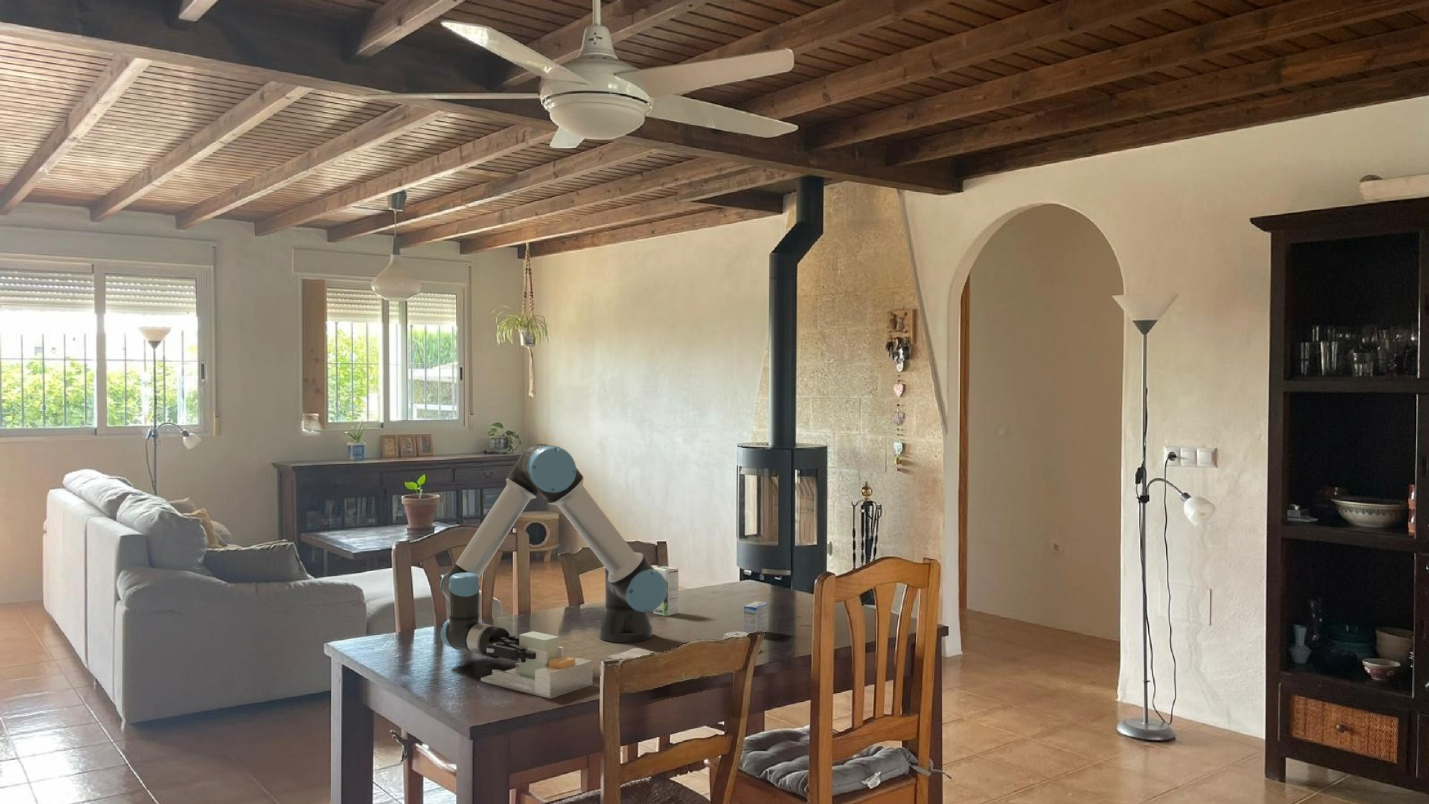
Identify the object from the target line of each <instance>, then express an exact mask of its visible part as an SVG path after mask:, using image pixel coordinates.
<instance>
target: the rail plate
mask: <svg viewBox="0 0 1429 804" xmlns="http://www.w3.org/2000/svg"><path fill="white" fill-rule="evenodd" d="M574 659H575V665H572V666H568V667H565V668H562V669H556V668H552V667H548V666H547V667H544V668H541V669H537V670H535V679H534V678H530V677H526V676H522V675H519V662H517V663H515V664H514V665H515V666H514V668H511V669H510V668H509V669H508V670H500V669H497V668H496V669H492V670H491V674H490V675H486V676H483V677H480V682H483V683H486V684H490V685H495V686H498V687H502V688H506V689H510V690H514V691H517V692H522V693H526V694H530V695H533V696H534V695H535V696H538V697H541V698H545V699H549V700H551V699H553V698H557V697H561V696H563V695H566V694H569V693H572V692H575V691H578V690H582V689H584V688H588V687H591V686H593V685H594V684H593V660H589V659H586V658H582V657H581V658H580V657H575V658H574Z"/></svg>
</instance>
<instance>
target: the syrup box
mask: <svg viewBox="0 0 1429 804" xmlns="http://www.w3.org/2000/svg"><path fill="white" fill-rule="evenodd" d="M653 568H654V570H656V571H658V572H659V573H661V574H662V576H663V577H664V579H665V580H666V584H667V593H666V597H665V599H664V601H663V602H662V604H661V605H660V606H659V607H658V608H656V609H654V610H653V614H654V615H658V616H659V615H660V616H662V617H663V616H664V617H669V616H672V615H676V614H679V568H678V567H677V568H676V567H670V566H658V567H653Z"/></svg>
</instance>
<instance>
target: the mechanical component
mask: <svg viewBox="0 0 1429 804" xmlns="http://www.w3.org/2000/svg"><path fill="white" fill-rule="evenodd" d="M746 635H748V633H747V632H744V631H730V632H726V633H724V634H723V640H724V639H725V638H731V637H743V636H746Z"/></svg>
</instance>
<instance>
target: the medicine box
mask: <svg viewBox="0 0 1429 804" xmlns="http://www.w3.org/2000/svg"><path fill="white" fill-rule="evenodd" d="M769 606H770V605H769V603H768V602H765V601H753V602H751V603H748V604H746V605H744V606H743V632H747V633H749V632H754V631H764V632H766V633H767V632H769V616H770V615H769V614H770V613H769V610H770V608H769Z"/></svg>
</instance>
